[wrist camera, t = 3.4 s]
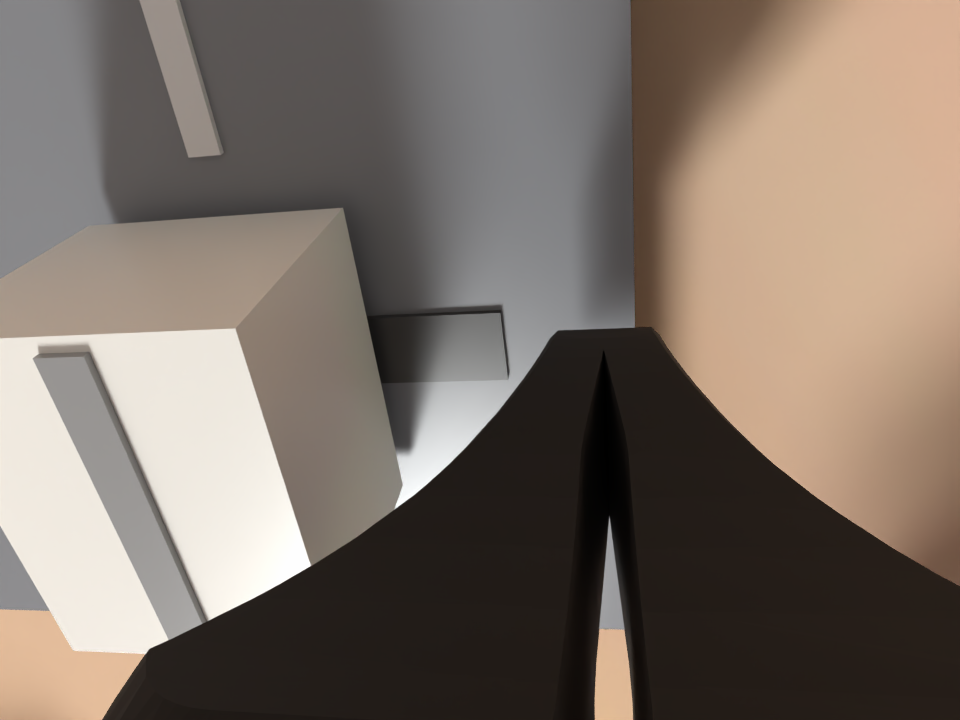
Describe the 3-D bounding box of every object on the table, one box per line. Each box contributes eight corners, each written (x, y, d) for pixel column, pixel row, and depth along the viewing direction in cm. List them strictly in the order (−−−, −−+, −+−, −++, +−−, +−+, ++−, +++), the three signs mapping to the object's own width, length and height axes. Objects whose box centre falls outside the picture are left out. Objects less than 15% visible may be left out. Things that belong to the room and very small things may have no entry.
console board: (622, -167, 10) (628, -187, 8) (634, 555, 16) (639, 634, 14) (-513, 9, 13) (-687, 22, 11) (-131, 543, 20) (-204, 605, 18)
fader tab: (342, 207, 10) (230, 333, 7) (402, 484, 13) (338, 669, 10) (88, 225, 11) (-115, 347, 8) (192, 485, 13) (68, 656, 10)
